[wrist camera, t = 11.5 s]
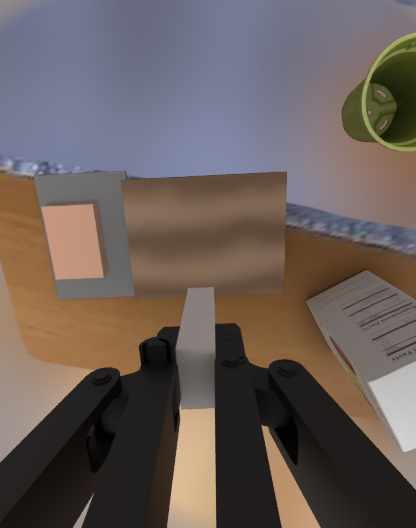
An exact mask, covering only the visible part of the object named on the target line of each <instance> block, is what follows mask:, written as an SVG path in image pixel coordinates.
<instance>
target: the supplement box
mask: <svg viewBox="0 0 416 528" xmlns="http://www.w3.org/2000/svg"><path fill="white" fill-rule="evenodd" d="M306 303H307V305H308V307H309V309H310V311H311V313H312V315H313V317H314V319H315V321H316V323H317V325H318V327H319V329H320V330H321V332H322V334H323V336H324V338H325V340H326V342H327V344H328V345H329V347H330V349H331V351H332V352H333V353H334V355H335V356H336V357H337V359H338V360H339V362H340V363H341V365H342V366H343V368H344V369H345V370H346V372H347V373H348V375H349V376H350V377H351V379H352V380H353V382H354V383H355V385H356V386H357V387H358V389H359V390H360V392H361V393H362V395H363V396H364V398H365V399H366V400H367V402H368V403H369V405H370V406H371V407H372V409H373V410H374V412H375V413H376V415H377V416H378V417H379V419H380V420H381V422H382V423H383V425H384V426H385V428H386V429H387V430H388V432H389V433H390V435H391V436H392V438H393V439H394V440H395V442H396V443H397V445H398V446H399V448H400V449H401V450H402V451H403V452H407V451H409V450H412V449H415V448H416V300H415V299H413V298H412V297H410V296H409V295H407V294H405V293H404V292H402V291H401V290H399V289H397V288H396V287H394V286H392V285H391V284H389V283H387V282H386V281H384V280H383V279H381V278H379V277H378V276H376V275H375V274H373V273H371V272H370V271H368V270H365V271H363V272H361V273H359V274H357V275H355V276H353V277H351V278H350V279H348V280H346V281H344V282H342V283H340V284H338V285H336V286H334V287H332V288H330V289H328V290H326V291H324V292H322V293H320V294H318V295H316V296H314V297H312V298H310V299H308V300H307V301H306Z"/></svg>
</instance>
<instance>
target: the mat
mask: <svg viewBox="0 0 416 528" xmlns="http://www.w3.org/2000/svg"><path fill="white" fill-rule="evenodd" d="M120 180H127V176H126V171H114V172H95V173H75V174H55V175H36V176H34V181H35V186H36V191H37V196H38V201H39V206H40V210H41V215H42V220H43V225H44V230H45V235H46V240H47V245H48V250H49V255H50V260H51V265H52V270H53V274H54V279H55V284H56V289H57V294H58V299H80V298H101V297H122V296H135V292H134V284H133V276H132V268H131V260H130V252H129V244H128V236H127V228H126V220H125V212H124V204H123V197H122V189H121V181H120ZM82 203H99V210H100V217H101V223H102V230H103V237H104V244H105V251H106V258H107V264H108V271H109V273H108V274H107V275H106V276H105V277H104V278H82V279H60V280H56V278H55V273H54V268H53V263H52V258H51V253H50V248H49V243H48V238H47V233H46V228H45V223H44V218H43V213H42V208H41V207H43V206H47V205H61V204H82Z"/></svg>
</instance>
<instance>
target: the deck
mask: <svg viewBox="0 0 416 528" xmlns="http://www.w3.org/2000/svg"><path fill="white" fill-rule="evenodd" d="M286 179H287V172H268V173H248V174H228V175H209V176H189V177H169V178H149V179H129V180H120V181H121V189H122V197H123V204H124V212H125V220H126V228H127V236H128V244H129V252H130V260H131V268H132V276H133V284H134V292H135V300H138V299H160V298H181V297H186V296H187V291H188V288H205V287H214V296H224V295H245V294H267V293H284V267H285V226H286V184H287V182H286V181H287V180H286Z"/></svg>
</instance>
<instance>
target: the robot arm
mask: <svg viewBox="0 0 416 528" xmlns="http://www.w3.org/2000/svg"><path fill="white" fill-rule="evenodd" d="M139 351H140V359H141V367H140V370H139V371H137V372H134V373H131V374H127V375H123V376H120V372H119V371H118V370H117V369H115V368H112V367H108V368H100V369H97V370H95V371H93V372H91V373H90V374H89V375H87V376H86V377H85V378H84V379H83V380H82V381H81V382H80V383H79V384H78V385H77V386H76V387H75V388H74V389H73V390H72V391H71V392H70V393H69V394H68V395H67V396H66V397H65V398H64V399H63V400H62V401H61V402H60V403H59V404H58V405H57V406H56V407H55V408H54V409H53V410H52V411H51V412H50V413H49V414H48V415H47V416H46V417H45V418H44V419H43V420H42V421H41V422H40V423H39V424H38V425H37V426H36V427H35V428H34V429H33V430H32V431H31V432H30V433H29V434H28V435H27V436H26V437H25V438H24V439H23V440H22V441H21V442H20V444H19V445H17V446H16V447H15V448H14V449H13V450H12V451H11V452H10V453H9V454H8V455H7V457H5V458H4V459H3V460H2V461H1V462H0V528H73V526H74V525H75V523H76V521H77V520H78V518H79V516H80V515H81V513H82V512H83V510H84V508H85V507H86V505H87V503H88V501H89V500H90V498H91V497H92V495H93V493H94V495H93V497H92V500H91V503H90V506H89V509H88V511H87V514H86V517H85V519H84V522H83V525H82V527H81V528H167V521H168V513H169V505H170V497H171V489H172V480H173V472H174V465H175V457H176V449H177V441H178V433H179V425H180V413H179V406H180V403H181V409H203V408H215V446H216V447H215V454H216V528H282V527H281V522H280V517H279V512H278V507H277V502H276V497H275V492H274V487H273V482H272V477H271V471H270V467H269V461H268V457H267V451H266V446H265V441H264V437H263V431H262V426H261V425H263V426H268V428H269V432H270V434H271V436H272V438H273V440H274V441H275V443H276V445H277V447H278V449H279V451H280V453H281V454H282V456H283V458H284V460H285V462H286V464H287V466H288V468H289V469H290V471H291V473H292V475H293V477H294V479H295V481H296V482H297V484H298V486H299V488H300V490H301V492H302V494H303V496H304V497H305V499H306V501H307V503H308V505H309V507H310V509H311V510H312V512H313V514H314V516H315V518H316V520H317V522H318V523H319V525H320V527H321V528H416V490H415V489H414V488H413V486H412V485H411V484H410V483H409V482H408V481H407V480H406V479H405V478H404V477H403V475H402V474H401V473H400V472H399V471H398V470H397V469H396V468H395V467H394V466H393V464H392V463H391V462H390V461H389V460H388V459H387V458H386V457H385V456H384V455H383V454H382V452H381V451H380V450H379V449H378V448H377V447H376V446H375V445H374V444H373V443H372V441H371V440H370V439H369V438H368V437H367V436H366V435H365V434H364V433H363V431H362V430H361V429H360V428H359V427H358V426H357V425H356V424H355V423H354V422H353V420H352V419H351V418H350V417H349V416H348V415H347V414H346V413H345V412H344V411H343V409H342V408H341V407H340V406H339V405H338V404H337V403H336V402H335V401H334V400H333V398H332V397H331V396H330V395H329V394H328V393H327V392H326V391H325V390H324V389H323V387H322V386H321V385H320V384H319V383H318V382H317V381H316V380H315V379H314V378H313V376H312V375H311V374H310V373H309V372H308V371H307V370H306V369H305V368H304V367H303V366H302V365H301V364H300V363H298V362H295V361H293V360H288V359H282V360H276V361H274V362H272V363H271V364H270V365H269V368H262V367H258V366H255V365H253V364H251V363H250V362H249V360H248V358H247V357H246V355H245V350H244V345H243V340H242V335H241V329H240V327H239V326H238V325H236V324H235V323H228V324H216V321H215V302H214V287H205V288H188V291H187V296H186V301H185V306H184V311H183V315H182V320H181V325H180V326H177V327H164V328H162V329H161V330H160V331H159V332H158V334H157V337H152V338H149V339H146V340H145V341H143V342H142V343H141V344H140V345H139Z"/></svg>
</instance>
